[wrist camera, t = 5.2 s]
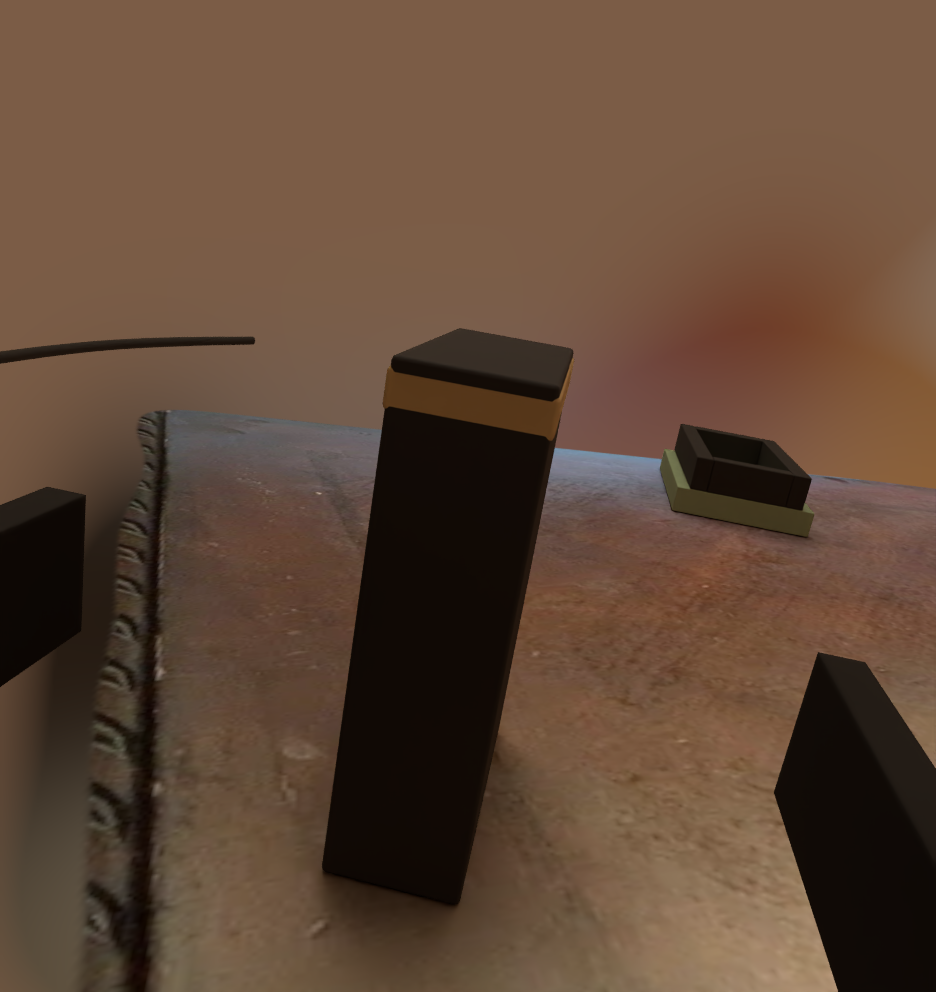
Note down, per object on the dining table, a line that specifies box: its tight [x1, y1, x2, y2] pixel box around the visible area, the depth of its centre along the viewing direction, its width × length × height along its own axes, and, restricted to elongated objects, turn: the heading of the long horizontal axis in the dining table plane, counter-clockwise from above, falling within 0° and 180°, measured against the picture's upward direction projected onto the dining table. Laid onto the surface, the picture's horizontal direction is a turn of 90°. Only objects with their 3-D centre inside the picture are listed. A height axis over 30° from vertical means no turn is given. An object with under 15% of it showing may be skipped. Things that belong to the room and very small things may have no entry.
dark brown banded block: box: [322, 329, 574, 904], centre depth 19 cm, size 7×3×11 cm, turn 171°
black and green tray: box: [660, 424, 814, 537], centre depth 54 cm, size 11×8×4 cm
